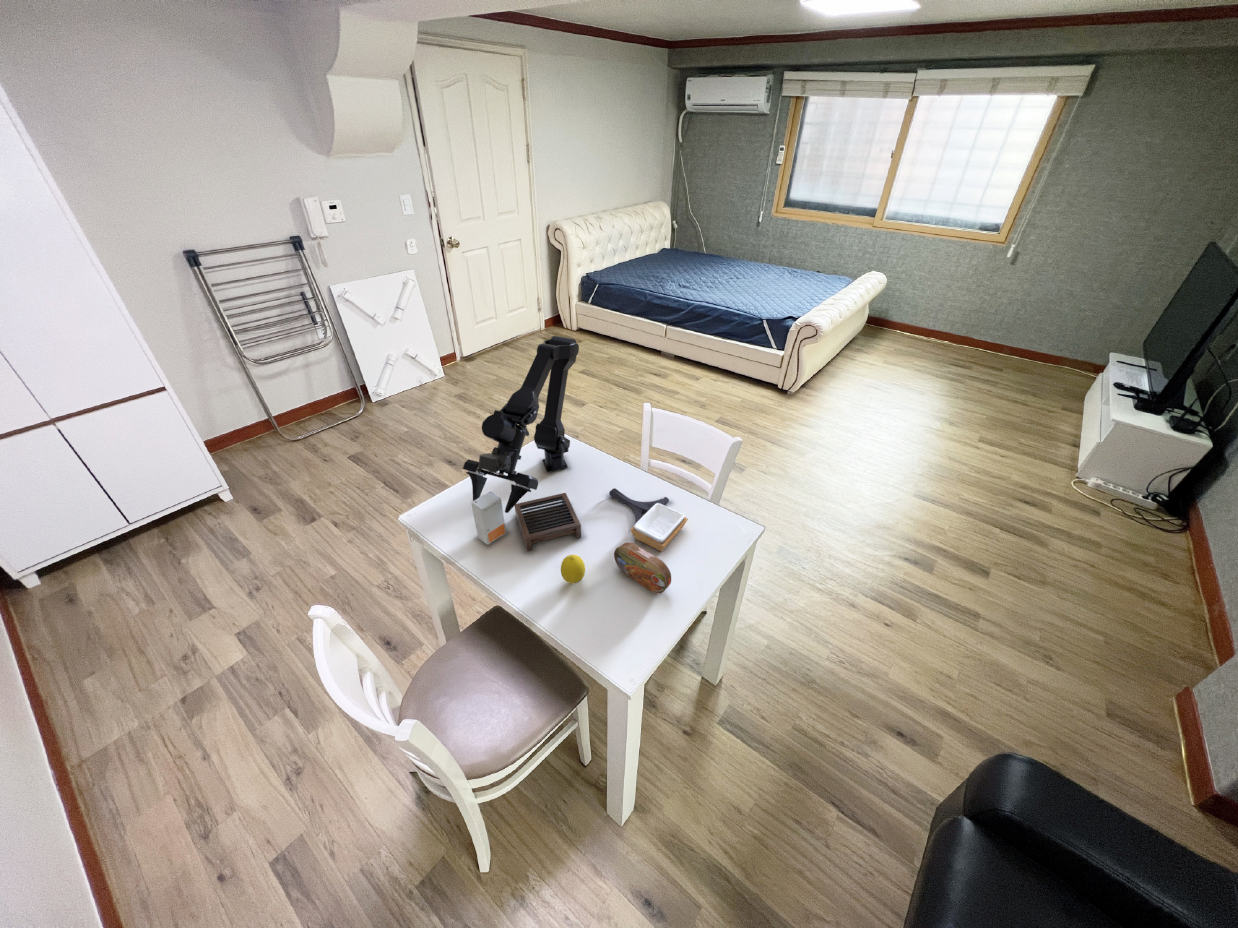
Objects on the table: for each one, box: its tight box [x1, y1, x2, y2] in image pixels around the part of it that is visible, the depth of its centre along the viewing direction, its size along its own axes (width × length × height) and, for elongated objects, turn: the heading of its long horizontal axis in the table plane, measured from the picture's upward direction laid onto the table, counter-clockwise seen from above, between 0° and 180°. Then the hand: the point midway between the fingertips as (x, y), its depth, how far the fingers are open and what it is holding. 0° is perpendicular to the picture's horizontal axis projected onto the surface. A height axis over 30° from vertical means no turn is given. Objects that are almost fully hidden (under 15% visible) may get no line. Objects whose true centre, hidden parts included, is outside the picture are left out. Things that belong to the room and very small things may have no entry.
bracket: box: [608, 487, 669, 525], centre depth 134 cm, size 14×15×3 cm
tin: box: [613, 541, 672, 595], centre depth 111 cm, size 15×3×8 cm, turn 49°
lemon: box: [560, 554, 586, 585], centre depth 111 cm, size 6×6×8 cm
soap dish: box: [629, 503, 689, 553], centre depth 124 cm, size 12×10×5 cm
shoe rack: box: [513, 492, 582, 552], centre depth 126 cm, size 14×14×4 cm
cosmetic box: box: [470, 490, 507, 546], centre depth 121 cm, size 6×4×12 cm
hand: (490, 507), depth 120 cm, fingers open, 9 cm apart
